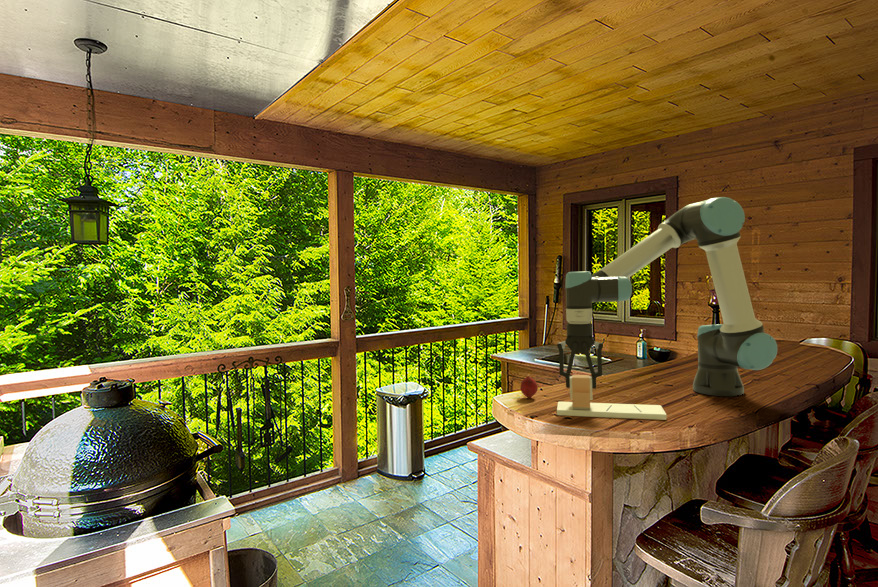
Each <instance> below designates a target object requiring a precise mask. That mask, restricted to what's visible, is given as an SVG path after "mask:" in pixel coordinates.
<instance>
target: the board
mask: <svg viewBox="0 0 878 587" xmlns="http://www.w3.org/2000/svg"><path fill="white" fill-rule="evenodd" d="M556 406H557V408H556V415H557V416H572V417H593V418H595V417H596V418H613V419H614V418H617V419H618V418H619V419H639V420H641V419H642V420H657V421H658V420H663V421H664V420H665V421H666V420H667V413H666V411H665V410H664V408H663V406H662V405H660V404H640V403H639V404H638V403H637V404H635V403H611V402H610V403H606V402H602V403H601V402H590V410H583V409H573V401H557V405H556Z"/></svg>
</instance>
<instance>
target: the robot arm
mask: <svg viewBox="0 0 878 587" xmlns="http://www.w3.org/2000/svg"><path fill="white" fill-rule="evenodd" d="M738 202H739V201H736V200H734V199H733V198H730V197H725V196H720V197H719V196H718V197H711V198H709V199H706V200H702V201H698V202H693V203H690V204H687V205H686V206H684V207H682V208H681V209H679V210H677V211H676V212H674V213H673V214H672V215H671V216H669V217H668V218H667V219H665V220H664V221H663V222H661V223H660V224H659V225H658V227H657V229H656V230H655V231H653V232H651V234H649V235H648V236H646V237H645V238H644V239H642V240H641V241H639V242H637V243H636V244H635V245H633V246H632V247H631V248H629V249H628V250H626V251H625V252H623V253H622V254H621V255H619V256H617V258H615V259H614V260H612V261H611V262H609V263H608V264H606V265H605V266H603V267H602V268H601V269H599V270H598V271H596V272H594V273H593V274H592V273H591V271H590V270H589V271H587V270H585V271H569V272H567V273H566V274H565V286H564V288H565V304H566V307H565V308H566V309H565V311H566V312H565V313H566V314H565V317H566V318H565V319H566V322H568V323H566V339H565V340H564V341H559V342H557V343H556V345H557V349H558V353H559V354H558V355H559V356H558V357H559V358H558V360H559V361H558V362H559V363H558V364H559V365H558V366H559V376H562V377H564V378H565V387H566V389H569V400H572V375H571V372H572V368H573V365H574V360H575V357H576V354H584V356H585V358H586V361H587V365H588V369H589V372H590V375H591V376H589V378H590V401H593V400H594V398H593V397H594V396H593V390H594V389H595V390H596V389H597V379H598V377H602V376H603V361H602V360H603V359H602V351H603V348H604V343H603V342H599V341H596V340H595V339H594V337H593V335H594V334H593V333H594V332H593V330H594V329H593V324H592V321H593V303H607V302H609V303H610V302H618V303H620V302H625V301H628V300H630V298H631V296H632V294H633V285H632V282H631V280H630V277H631V276H634V275H635V274H636V273H638V272H639V271H641V270H642V269H644V268H645V267H646V266H647V265H649V264H650V263H652V262H653V261H654V260H657V258H659V257H660V256H662V255H664V254H665V253H667V251H669V250H670V249H672V248H673V249H677V248H679V247H681V246H682V245H683V244H686V243H687V242H691V241H694V240H696V242H697V245H698V248H700V249H702V250H704V251H705V255H706V260H707V263H708V267H709V270H710V274H711V279H712V283H713V287H714V290H715V291H714V292H715V294H716V298H717V303H718V305H719V307H718V308H719V309H720V313H721V318H722V319H721V320H722V322H723V323H722V324H721V323H720V324H719V323H718V324H706V325H705V324H703V325H700V326H699V327H698V328H697V336H696V338H697V361H698V362H697V363H698V364H697V366H698V367H697V371H696V374H695V376H694V379H693V382H692V390H693V391H694V392H696V393H699V394H702V395H708V396H714V397H738V396H737V395H739V396H742V394H743V395H744V393H745V386H744V384H743V381H742V379H741V378H742V377H741V375H740V373H739V370H738V369H739V368H742V369H744V370H752V371H760V370H764V369H766V368H768V367H769V366H770V365H772V363H773V361H774V360H775V359H776V358H777V354H778V343H777V341H776V339H775V338H774V337H773V336H771V335H770V334H769V333H766V332H765V329H764V324H763V322H762V321H761V320H758V319H757V318H756V317H755V316H756V315H755V312H754V308H753V303H752V301H751V295H750V293H749V287H748V284H747V280H746V277H745V272H744V268H743V263H742V261H741V260H742V259H741V257H740V251H739V247H738V245H737V244H738V242H739V240H740V239H741V231H740V230H742V228H743V226H744V224H745V220H746V216H745V211H744V209H743V207H742V206H741V204H740V203H738ZM566 346H567V347H568V348H569V350H570V355H569V358H568V359H569V360H568V364H567V368H566V371H565V365H564V364H565V363H564V362H565V359H564V354H565V353H564V352H565V351H564V350H565V348H566ZM593 346H594V348H595V349H596V361H597V362H596V363H597V364H596V365H597V371H595V368H594V364H593V361H592V357H591V355H590V350H591V349H592V347H593ZM572 401H573V400H572Z"/></svg>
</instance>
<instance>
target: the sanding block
mask: <svg viewBox="0 0 878 587" xmlns="http://www.w3.org/2000/svg"><path fill="white" fill-rule="evenodd" d="M571 376H572V402H573V409H583V410H590V403H591V400H590V378H589V377H590V375H589V374H572V375H571Z"/></svg>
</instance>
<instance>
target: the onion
mask: <svg viewBox="0 0 878 587" xmlns="http://www.w3.org/2000/svg"><path fill="white" fill-rule="evenodd" d="M520 392H521V393H522V394H523V395H524V396H525V397H527V399H531V398H532V397H533V396H535V395H536V394H537V392H538V384H537V381H536V380H535V379H534V378H532V377H531V374H527V375H526V377H525V378H524V379H523V380H522V381H521V383H520Z"/></svg>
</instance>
